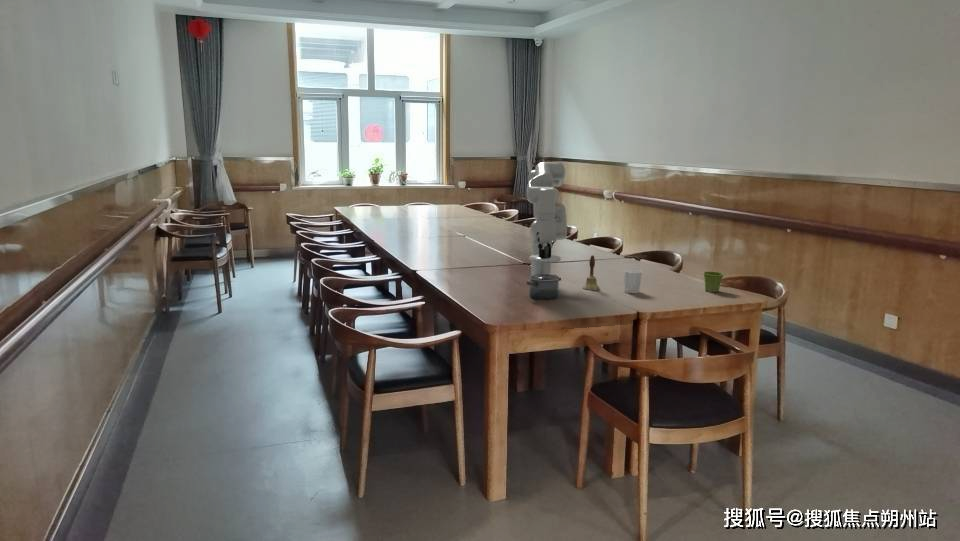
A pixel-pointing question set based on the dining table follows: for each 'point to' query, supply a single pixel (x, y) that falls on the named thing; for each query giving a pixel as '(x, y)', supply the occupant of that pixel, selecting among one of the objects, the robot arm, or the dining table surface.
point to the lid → (547, 258)
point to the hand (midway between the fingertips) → (544, 256)
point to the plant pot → (712, 281)
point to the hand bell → (591, 277)
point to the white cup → (632, 281)
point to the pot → (543, 286)
